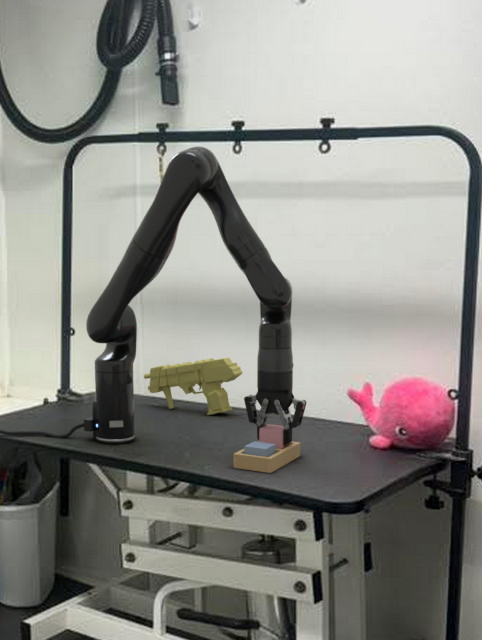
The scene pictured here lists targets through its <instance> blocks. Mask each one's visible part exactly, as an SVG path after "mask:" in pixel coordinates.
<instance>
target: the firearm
mask: <svg viewBox="0 0 482 640" xmlns="http://www.w3.org/2000/svg"><path fill="white" fill-rule="evenodd" d="M242 374H243V370H242V369H241V366H239V365H238V363H237V362H233V361H232V359H231V358H230V357H224V358H219V359H218V358H217V359H215V358H212V357H211V358H206V359H199V360H195V361H194V362H191V361H187V362H181V363H175V364H164V365H159V366H154V367H151V368H150V369H149V373H148V372H147V373H144V374H143V378H144V379H145V380H147V379H149V385H148V386H147V390H148V391H149V393H151V394H156V393H163V394H164V397H165V399H166V402H167V406H168V410H170V409H171V410H172V409H174V408H175V406H174V401H173V396H172V389H171V388H174V387H179V388H180V389H181V390H182V391H183V392H184V394H185V395H188V394H193V395H198V394H203V395H204V397H205V398H206V402H207V408H208V411H207V413H206V416H210V415H215V414H219V413H225V412H228V411H231V410H233V406H230V401H229V395H228V391H226V389H225V388H224V387H222V385H223V383H229V382H232V381H235V380H236V379H237V378H239V377H240V376H241V375H242ZM196 385H198V386H199V388H198V391H196V390H195V389H194V387H195V386H196Z"/></svg>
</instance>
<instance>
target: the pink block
mask: <svg viewBox="0 0 482 640" xmlns="http://www.w3.org/2000/svg"><path fill="white" fill-rule="evenodd" d="M265 425H266V426H264V427H262V428H260V429H259V440H258V441H259V442H264V443H272V444H276V449H282V448H283V447H285V446H284V445H283V429H284V426H283V425H281V424H279V425H278V424H269V423H268V424H265Z"/></svg>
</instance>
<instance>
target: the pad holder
mask: <svg viewBox="0 0 482 640" xmlns="http://www.w3.org/2000/svg"><path fill="white" fill-rule="evenodd" d="M257 442H259V440H257ZM232 455H233V460H232V461H233V468H234V469H239V470H247V471H254V472H259V473H260V472H261V473H268V474H272V473H274V472H275V471H277V470H278V469H281V468H282V467H284V466H285V465H287V464H289V463H291V462H292V461H294V460H296V459H298V458H299V457H301V442H300V441H292V442H291V443H290V444H289V445H288V446H285V447H283V448H282V449H276V450H275V454H273V455H271V456H270V457H263V456H256V455H248V454H244V448H242V449H240V450H238V451H236V452H234V453H233V454H232Z"/></svg>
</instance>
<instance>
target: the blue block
mask: <svg viewBox="0 0 482 640" xmlns="http://www.w3.org/2000/svg"><path fill="white" fill-rule="evenodd" d="M243 449H244V454H248V455H256V456H263V457H270V456H271V455H273V454H275V450H276V444H272V443H264V442H258V441H255V440H253V441H252V442H250V443H248V444H246V445H244V447H243Z"/></svg>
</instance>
